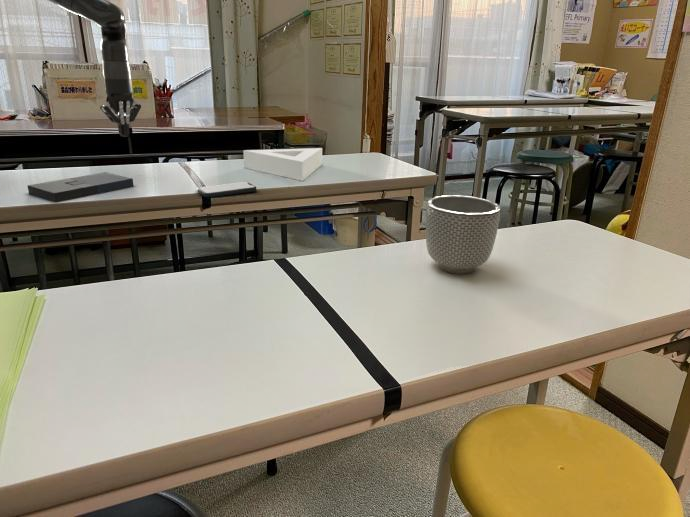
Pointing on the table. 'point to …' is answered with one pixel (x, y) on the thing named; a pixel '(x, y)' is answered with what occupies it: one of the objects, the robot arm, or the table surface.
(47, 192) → the black pad
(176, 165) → the table surface
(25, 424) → the table surface
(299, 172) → the triangle block
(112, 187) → the slate pad
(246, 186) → the phone case
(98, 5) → the robot arm
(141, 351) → the table surface
